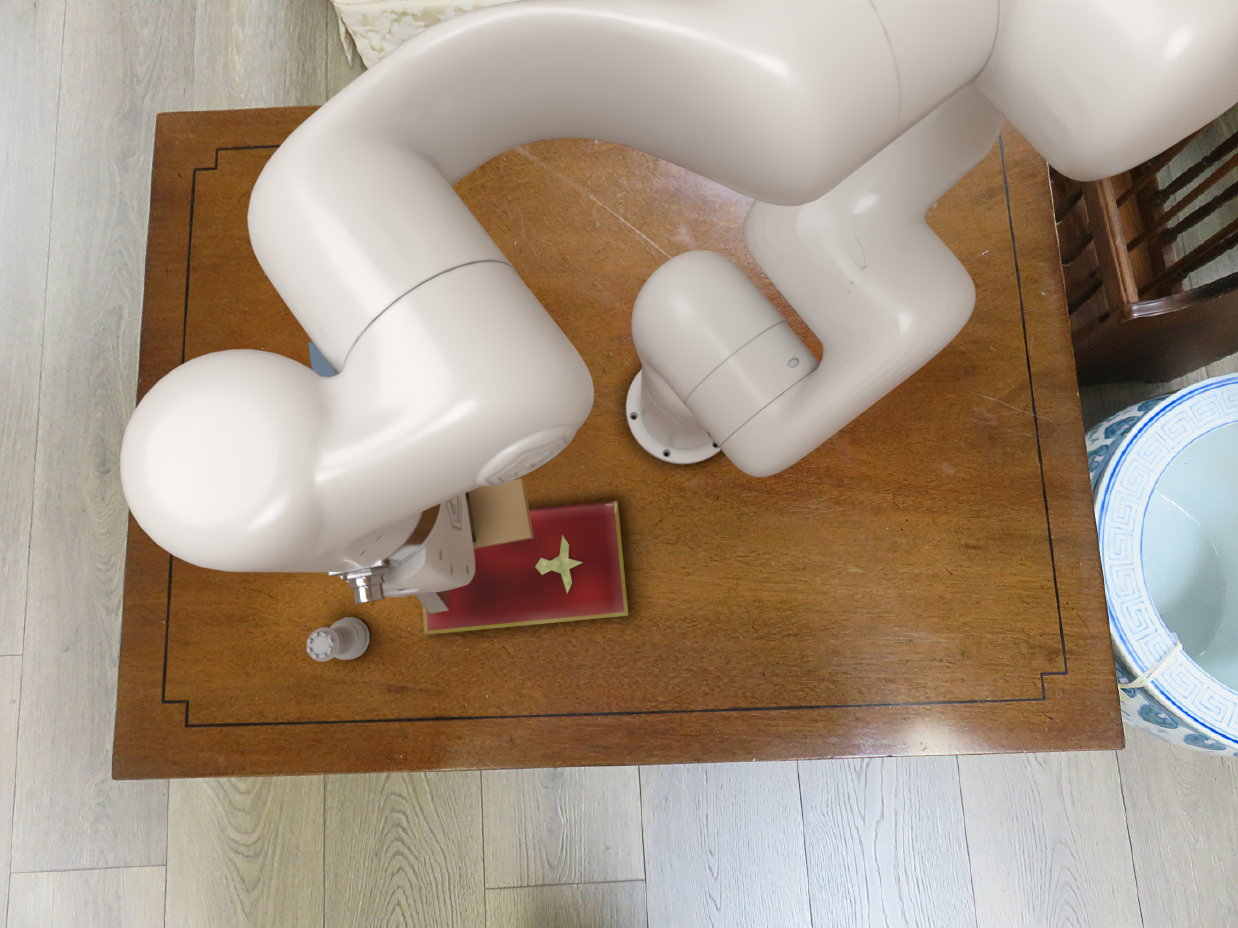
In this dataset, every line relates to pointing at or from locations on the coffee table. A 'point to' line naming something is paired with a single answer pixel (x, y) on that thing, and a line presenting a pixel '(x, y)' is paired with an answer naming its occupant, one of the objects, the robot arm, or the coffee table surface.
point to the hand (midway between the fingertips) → (451, 520)
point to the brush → (499, 514)
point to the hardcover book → (544, 574)
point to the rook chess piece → (339, 640)
